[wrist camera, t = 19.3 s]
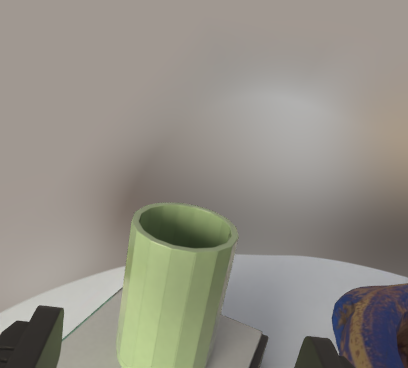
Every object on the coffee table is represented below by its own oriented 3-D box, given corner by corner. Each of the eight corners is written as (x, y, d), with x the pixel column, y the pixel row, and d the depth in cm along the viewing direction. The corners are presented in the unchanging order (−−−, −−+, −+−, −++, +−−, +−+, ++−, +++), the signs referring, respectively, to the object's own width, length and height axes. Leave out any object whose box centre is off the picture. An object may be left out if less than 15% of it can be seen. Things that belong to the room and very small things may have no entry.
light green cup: (95, 360, 23) (110, 225, 20) (146, 306, 28) (163, 194, 25) (186, 406, 21) (217, 265, 18) (221, 339, 26) (249, 222, 23)
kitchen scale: (14, 412, 22) (14, 372, 21) (127, 303, 33) (131, 273, 32) (204, 526, 18) (216, 484, 17) (261, 361, 29) (270, 330, 28)
